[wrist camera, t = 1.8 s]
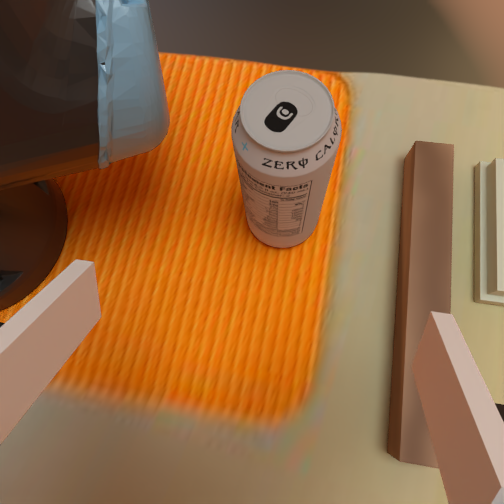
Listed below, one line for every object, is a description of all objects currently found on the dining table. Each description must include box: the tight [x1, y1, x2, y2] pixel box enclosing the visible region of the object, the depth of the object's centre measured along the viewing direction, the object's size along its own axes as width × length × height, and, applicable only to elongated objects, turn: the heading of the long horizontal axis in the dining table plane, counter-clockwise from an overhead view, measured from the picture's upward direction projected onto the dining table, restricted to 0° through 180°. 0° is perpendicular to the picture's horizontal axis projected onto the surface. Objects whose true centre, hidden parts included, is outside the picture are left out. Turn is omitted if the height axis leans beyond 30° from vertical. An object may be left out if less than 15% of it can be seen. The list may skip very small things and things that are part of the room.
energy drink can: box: [232, 70, 342, 248], centre depth 28 cm, size 6×6×15 cm
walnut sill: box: [387, 141, 454, 468], centre depth 31 cm, size 3×24×3 cm, turn 171°
